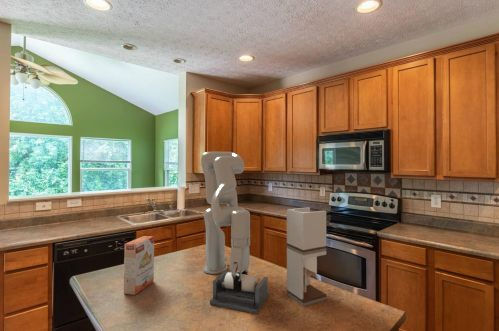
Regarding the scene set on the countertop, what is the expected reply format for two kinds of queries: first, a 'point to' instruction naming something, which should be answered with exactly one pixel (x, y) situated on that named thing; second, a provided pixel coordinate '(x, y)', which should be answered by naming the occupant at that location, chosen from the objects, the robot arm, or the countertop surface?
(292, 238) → the white stand
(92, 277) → the countertop surface
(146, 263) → the cracker box
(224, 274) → the roll holder
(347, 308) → the countertop surface
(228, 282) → the kitchen roll
